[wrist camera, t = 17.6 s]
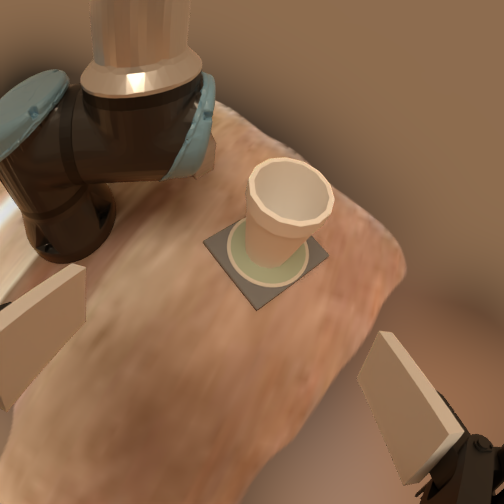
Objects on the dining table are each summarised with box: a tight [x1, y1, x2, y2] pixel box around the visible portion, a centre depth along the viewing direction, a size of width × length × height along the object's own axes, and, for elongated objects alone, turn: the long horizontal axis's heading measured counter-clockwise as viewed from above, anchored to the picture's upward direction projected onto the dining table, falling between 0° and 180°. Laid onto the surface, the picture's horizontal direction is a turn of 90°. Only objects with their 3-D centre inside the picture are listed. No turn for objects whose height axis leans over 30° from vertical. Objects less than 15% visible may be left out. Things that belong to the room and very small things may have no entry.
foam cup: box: [245, 157, 335, 269], centre depth 37 cm, size 10×9×13 cm
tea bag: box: [192, 133, 216, 179], centre depth 45 cm, size 4×7×10 cm, turn 44°
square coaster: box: [203, 217, 329, 311], centre depth 43 cm, size 12×14×1 cm
